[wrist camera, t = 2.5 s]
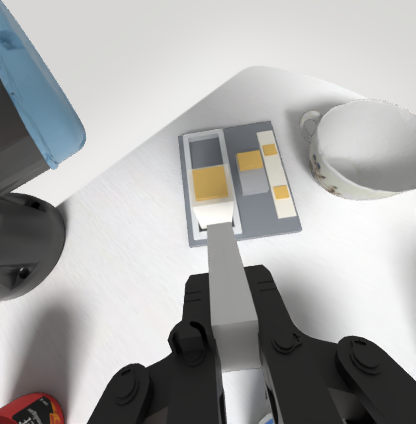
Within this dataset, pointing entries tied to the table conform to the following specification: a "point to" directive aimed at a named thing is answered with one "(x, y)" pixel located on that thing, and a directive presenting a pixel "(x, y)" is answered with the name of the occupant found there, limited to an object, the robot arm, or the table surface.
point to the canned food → (32, 410)
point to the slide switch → (211, 194)
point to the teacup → (363, 149)
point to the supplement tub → (267, 419)
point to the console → (242, 180)
